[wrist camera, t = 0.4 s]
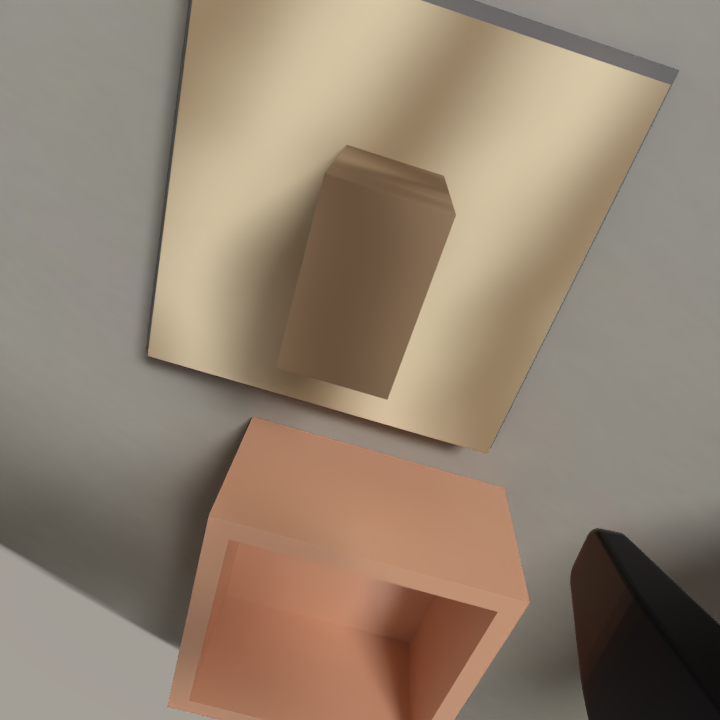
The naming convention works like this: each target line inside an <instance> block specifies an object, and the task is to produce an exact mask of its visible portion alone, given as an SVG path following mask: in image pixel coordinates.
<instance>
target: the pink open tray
mask: <svg viewBox="0 0 720 720" xmlns="http://www.w3.org/2000/svg"><path fill="white" fill-rule="evenodd" d="M529 603H530V601H529V596H528V592H527V587H526V583H525V578H524V574H523V570H522V565H521V561H520V556H519V552H518V547H517V543H516V538H515V534H514V529H513V525H512V520H511V516H510V511H509V507H508V502H507V498H506V493H505V489H504V488H502V487H498V486H495V485H491V484H488V483H484V482H481V481H477V480H474V479H470V478H467V477H463V476H460V475H456V474H453V473H449V472H446V471H442V470H439V469H435V468H432V467H428V466H425V465H421V464H418V463H414V462H411V461H407V460H403V459H400V458H396V457H393V456H389V455H386V454H382V453H379V452H375V451H372V450H368V449H365V448H361V447H358V446H354V445H351V444H347V443H344V442H340V441H337V440H333V439H330V438H326V437H323V436H319V435H316V434H312V433H309V432H305V431H302V430H298V429H295V428H291V427H288V426H284V425H281V424H277V423H273V422H270V421H266V420H263V419H259V418H256V417H252V419H251V422H250V424H249V426H248V428H247V431H246V433H245V435H244V437H243V440H242V442H241V444H240V446H239V449H238V451H237V453H236V455H235V458H234V460H233V462H232V464H231V467H230V469H229V471H228V473H227V476H226V478H225V480H224V482H223V485H222V487H221V489H220V491H219V494H218V496H217V498H216V500H215V503H214V505H213V507H212V509H211V512H210V514H209V517H208V521H207V526H206V530H205V535H204V540H203V544H202V549H201V554H200V558H199V563H198V567H197V572H196V577H195V581H194V586H193V591H192V595H191V600H190V604H189V609H188V614H187V618H186V623H185V627H184V632H183V637H182V641H181V646H180V651H179V655H178V660H177V665H176V669H175V674H174V678H173V683H172V688H171V692H170V697H169V701H168V707H170V708H174V709H178V710H182V711H186V712H190V713H195V714H198V715H202V716H206V717H210V718H214V719H218V720H454V719H455V718H456V716H457V715H458V713H459V712H460V710H461V709H462V707H463V705H464V704H465V702H466V701H467V699H468V698H469V696H470V695H471V693H472V691H473V690H474V688H475V687H476V685H477V684H478V682H479V681H480V679H481V678H482V676H483V674H484V673H485V671H486V670H487V668H488V667H489V665H490V664H491V662H492V661H493V659H494V657H495V656H496V654H497V653H498V651H499V650H500V648H501V647H502V645H503V644H504V642H505V640H506V639H507V637H508V636H509V634H510V633H511V631H512V630H513V628H514V627H515V625H516V623H517V622H518V620H519V619H520V617H521V616H522V614H523V613H524V611H525V610H526V608H527V606H528V605H529Z"/></svg>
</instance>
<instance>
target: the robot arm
mask: <svg viewBox="0 0 720 720" xmlns="http://www.w3.org/2000/svg"><path fill="white" fill-rule="evenodd" d="M570 584H571V594H572V603H573V612H574V621H575V631H576V640H577V649H578V658H579V667H580V675H581V683H582V689H583V695H584V700H585V705H586V710H587V715H588V719H589V720H720V625H719V624H718V623H717V622H716V621H715V620H714V619H713V618H712V617H711V616H710V615H709V614H708V613H707V612H705V611H704V610H703V609H702V608H701V607H700V606H699V605H698V604H697V603H696V602H695V601H694V600H693V599H692V598H691V597H690V596H689V595H688V594H686V593H685V592H684V591H683V590H682V589H681V588H680V587H679V586H678V585H677V584H676V583H675V582H674V581H673V580H672V579H671V578H670V577H669V576H667V575H666V574H665V573H664V572H663V571H662V570H661V569H660V568H659V567H658V566H657V565H656V564H655V563H654V562H653V561H652V560H651V559H650V558H648V557H647V556H646V555H645V554H644V553H643V552H642V551H641V550H640V549H639V548H638V547H637V546H636V545H635V544H634V543H633V542H632V541H631V540H629V539H628V538H627V537H626V536H625V535H624V534H622V533H619V532H615V531H609V530H604V529H599V528H596V529H593V530H592V531H591V532H590V533H589V534H588V536H587V538H586V540H585V542H584V544H583V546H582V548H581V550H580V552H579V554H578V557H577V559H576V561H575V563H574V565H573V568H572V571H571V578H570Z"/></svg>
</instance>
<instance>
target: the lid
mask: <svg viewBox="0 0 720 720" xmlns="http://www.w3.org/2000/svg"><path fill="white" fill-rule="evenodd" d="M670 86H671V85H670V84H667V83H664V82H661V81H658V80H655V79H652V78H649V77H646V76H643V75H640V74H637V73H634V72H631V71H629V70H626V69H623V68H620V67H617V66H614V65H611V64H608V63H605V62H602V61H599V60H596V59H593V58H590V57H587V56H584V55H581V54H578V53H575V52H572V51H569V50H567V49H564V48H561V47H558V46H555V45H552V44H549V43H546V42H543V41H540V40H537V39H534V38H531V37H528V36H525V35H522V34H519V33H516V32H513V31H510V30H507V29H505V28H502V27H499V26H496V25H493V24H490V23H487V22H484V21H481V20H478V19H475V18H472V17H469V16H466V15H463V14H460V13H457V12H454V11H451V10H448V9H445V8H443V7H440V6H437V5H434V4H431V3H428V2H425V1H422V0H192V7H191V15H190V23H189V31H188V39H187V47H186V54H185V62H184V70H183V78H182V86H181V94H180V102H179V110H178V118H177V126H176V134H175V142H174V150H173V158H172V166H171V174H170V182H169V190H168V198H167V206H166V214H165V222H164V230H163V238H162V246H161V253H160V261H159V269H158V277H157V285H156V293H155V301H154V309H153V317H152V325H151V333H150V341H149V349H148V356H150V357H153V358H157V359H160V360H164V361H167V362H171V363H174V364H178V365H181V366H185V367H188V368H192V369H195V370H198V371H202V372H205V373H209V374H212V375H216V376H219V377H223V378H226V379H230V380H233V381H237V382H240V383H244V384H247V385H250V386H254V387H257V388H261V389H264V390H268V391H271V392H275V393H278V394H282V395H285V396H289V397H292V398H296V399H299V400H302V401H306V402H309V403H313V404H316V405H320V406H323V407H327V408H330V409H334V410H337V411H341V412H344V413H347V414H351V415H354V416H358V417H361V418H365V419H368V420H372V421H375V422H379V423H382V424H386V425H389V426H393V427H396V428H399V429H403V430H406V431H410V432H413V433H417V434H420V435H424V436H427V437H431V438H434V439H438V440H441V441H445V442H448V443H451V444H455V445H458V446H462V447H465V448H469V449H472V450H476V451H479V452H483V453H486V454H487V453H488V451H489V449H490V447H491V445H492V443H493V441H494V439H495V437H496V435H497V433H498V431H499V429H500V427H501V425H502V423H503V421H504V419H505V417H506V415H507V413H508V411H509V409H510V407H511V405H512V403H513V401H514V399H515V397H516V395H517V393H518V391H519V389H520V387H521V385H522V383H523V381H524V379H525V377H526V375H527V373H528V371H529V369H530V367H531V365H532V363H533V361H534V359H535V357H536V355H537V353H538V351H539V349H540V347H541V345H542V343H543V341H544V339H545V337H546V335H547V333H548V331H549V329H550V326H551V324H552V322H553V320H554V318H555V316H556V314H557V312H558V310H559V308H560V306H561V304H562V302H563V300H564V298H565V296H566V294H567V292H568V290H569V288H570V286H571V284H572V282H573V280H574V278H575V276H576V274H577V272H578V270H579V268H580V266H581V264H582V262H583V260H584V258H585V256H586V254H587V252H588V250H589V248H590V246H591V244H592V242H593V240H594V238H595V236H596V234H597V232H598V230H599V228H600V226H601V224H602V222H603V220H604V218H605V216H606V214H607V212H608V210H609V208H610V206H611V204H612V202H613V200H614V198H615V196H616V194H617V192H618V190H619V188H620V186H621V184H622V182H623V180H624V178H625V176H626V174H627V172H628V170H629V168H630V166H631V164H632V162H633V160H634V158H635V156H636V154H637V152H638V150H639V148H640V146H641V144H642V142H643V140H644V138H645V136H646V134H647V132H648V130H649V128H650V126H651V124H652V122H653V120H654V118H655V116H656V114H657V112H658V110H659V108H660V106H661V104H662V102H663V100H664V98H665V96H666V94H667V92H668V90H669V88H670Z"/></svg>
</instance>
